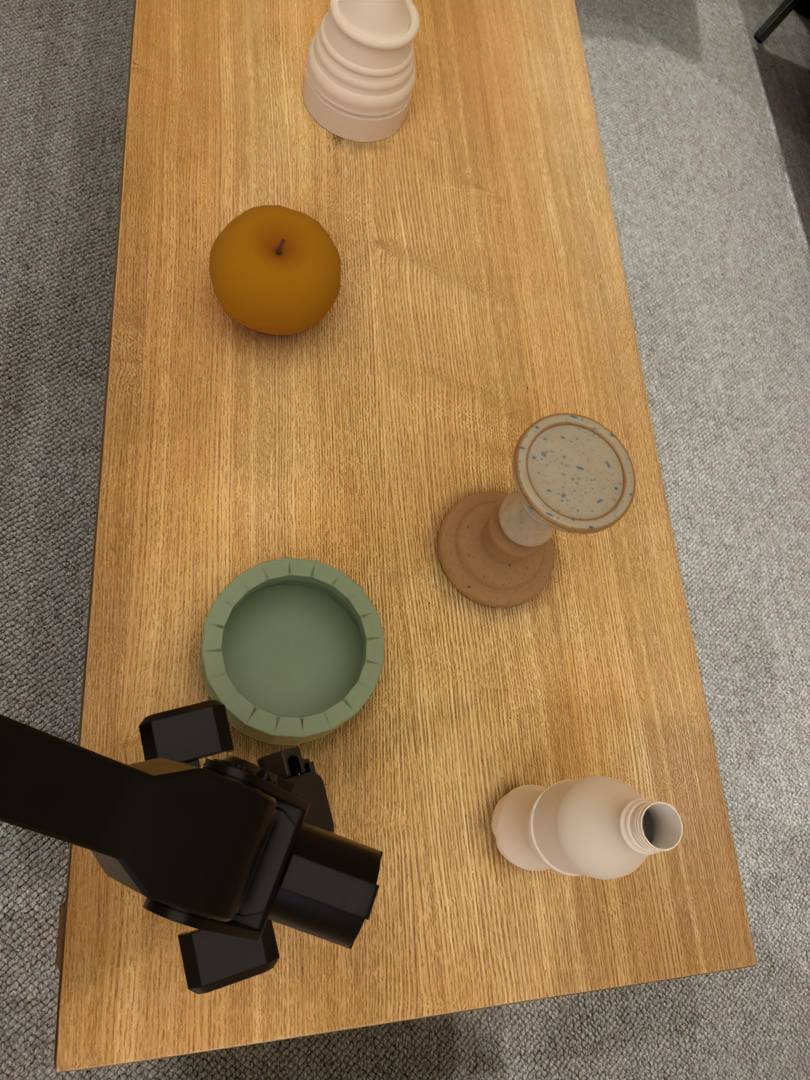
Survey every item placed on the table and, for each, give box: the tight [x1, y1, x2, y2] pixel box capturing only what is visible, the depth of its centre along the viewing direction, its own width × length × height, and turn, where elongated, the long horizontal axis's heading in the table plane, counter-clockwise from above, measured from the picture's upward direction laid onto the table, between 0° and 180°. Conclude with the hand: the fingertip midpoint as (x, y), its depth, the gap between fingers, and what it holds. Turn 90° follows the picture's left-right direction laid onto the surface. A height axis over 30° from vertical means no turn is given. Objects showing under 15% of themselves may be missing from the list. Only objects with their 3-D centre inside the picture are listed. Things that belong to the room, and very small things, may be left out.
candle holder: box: [437, 412, 637, 609], centre depth 73 cm, size 12×12×20 cm
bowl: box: [200, 557, 385, 746], centre depth 71 cm, size 15×15×7 cm
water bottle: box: [490, 775, 684, 881], centre depth 63 cm, size 7×7×25 cm
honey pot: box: [301, 0, 421, 143], centre depth 90 cm, size 13×13×18 cm
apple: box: [208, 204, 342, 336], centre depth 81 cm, size 13×13×11 cm
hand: (207, 837), depth 65 cm, fingers closed on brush, 2 cm apart
